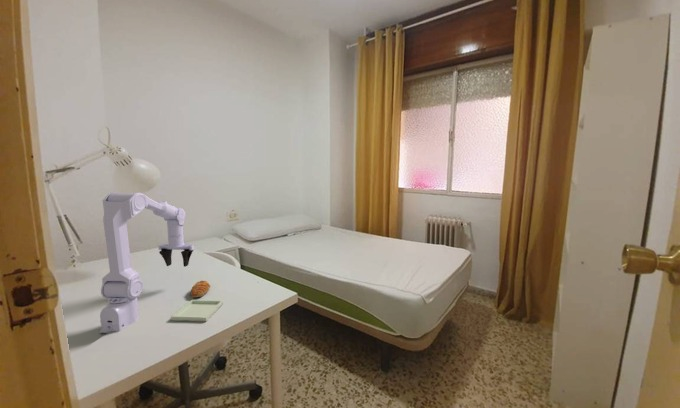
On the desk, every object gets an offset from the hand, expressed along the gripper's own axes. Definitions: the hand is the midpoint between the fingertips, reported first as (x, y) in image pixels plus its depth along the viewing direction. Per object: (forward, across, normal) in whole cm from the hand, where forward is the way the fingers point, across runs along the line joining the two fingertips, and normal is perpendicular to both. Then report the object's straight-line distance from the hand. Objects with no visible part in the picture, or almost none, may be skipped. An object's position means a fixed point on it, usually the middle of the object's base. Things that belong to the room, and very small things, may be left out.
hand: (177, 265), depth 114 cm
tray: (+9, -21, +21) cm, 31 cm away
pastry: (+10, -12, +9) cm, 18 cm away
